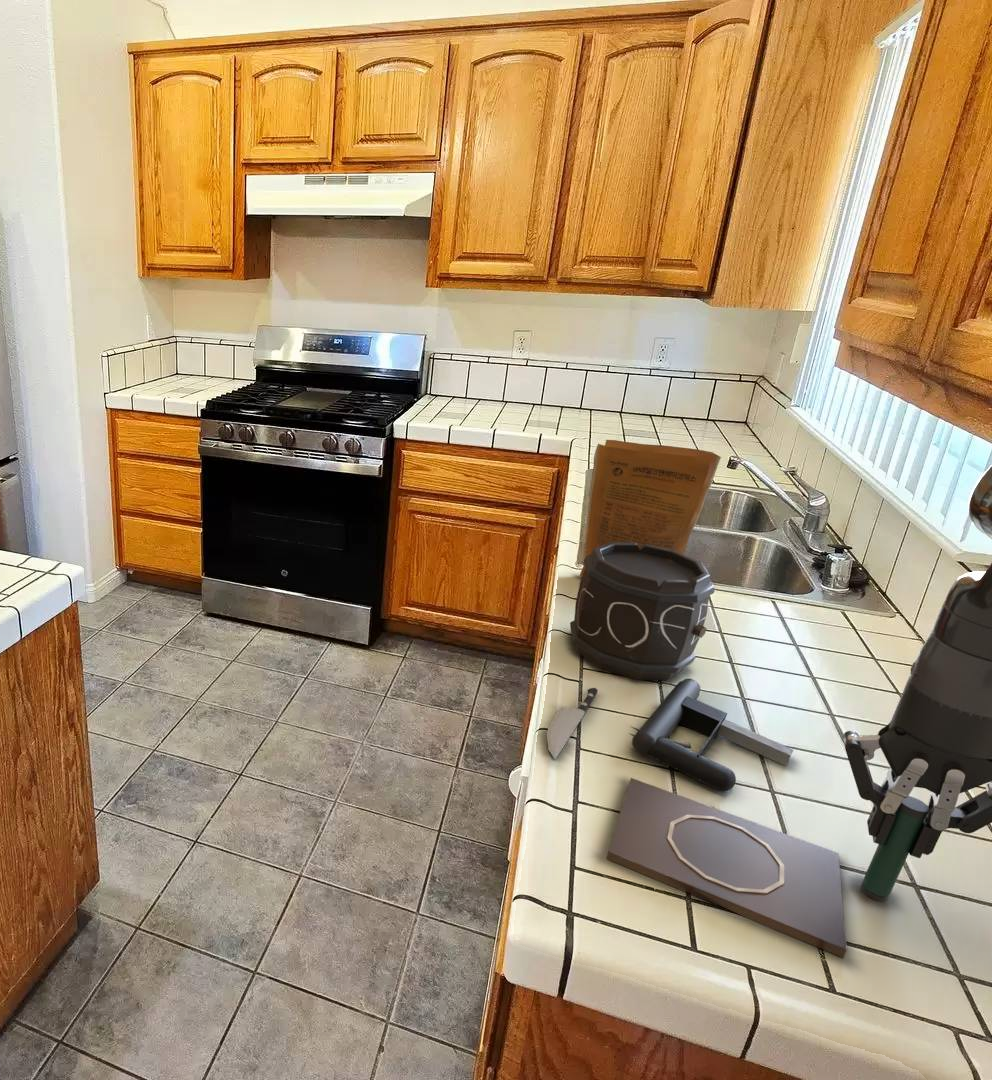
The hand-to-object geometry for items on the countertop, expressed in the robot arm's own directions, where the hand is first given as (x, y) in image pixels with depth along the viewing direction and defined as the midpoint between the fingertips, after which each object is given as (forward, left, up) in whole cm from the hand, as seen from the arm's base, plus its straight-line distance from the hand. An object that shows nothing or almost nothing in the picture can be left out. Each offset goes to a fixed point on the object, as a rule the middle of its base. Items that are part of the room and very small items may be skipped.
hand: (895, 844), depth 72 cm
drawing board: (+13, +4, -6) cm, 15 cm away
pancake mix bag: (+33, -62, -6) cm, 71 cm away
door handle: (+16, -17, -6) cm, 24 cm away
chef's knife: (+32, -12, -6) cm, 35 cm away
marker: (0, 0, -6) cm, 6 cm away
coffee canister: (+28, -36, -6) cm, 46 cm away
